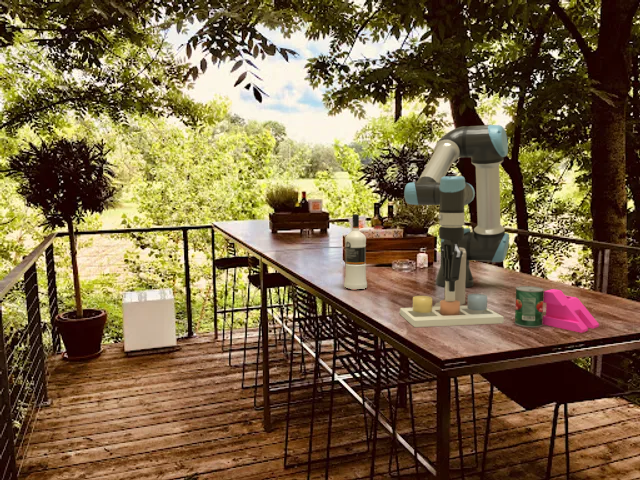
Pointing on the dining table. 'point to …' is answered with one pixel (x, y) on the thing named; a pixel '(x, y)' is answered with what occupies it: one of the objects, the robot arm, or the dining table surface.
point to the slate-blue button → (477, 302)
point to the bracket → (567, 312)
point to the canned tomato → (529, 306)
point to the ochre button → (422, 304)
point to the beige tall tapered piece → (459, 281)
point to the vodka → (355, 257)
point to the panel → (451, 317)
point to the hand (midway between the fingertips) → (450, 300)
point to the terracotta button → (449, 308)
